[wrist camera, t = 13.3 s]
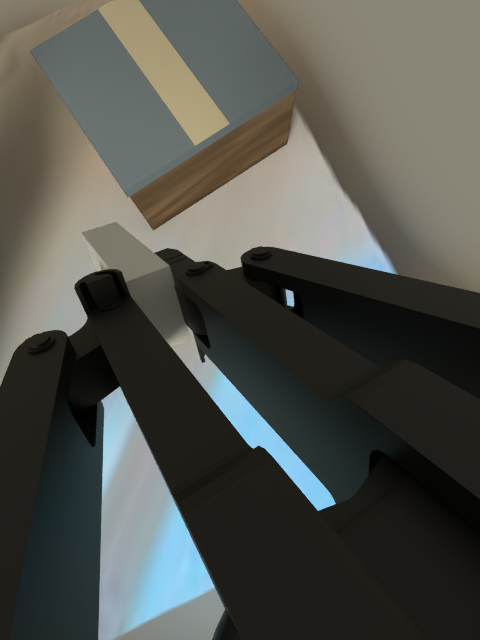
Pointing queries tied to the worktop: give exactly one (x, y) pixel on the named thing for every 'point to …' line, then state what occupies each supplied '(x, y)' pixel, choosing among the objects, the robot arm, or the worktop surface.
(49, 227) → the worktop surface
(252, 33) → the lid
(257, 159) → the walnut box
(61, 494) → the robot arm
